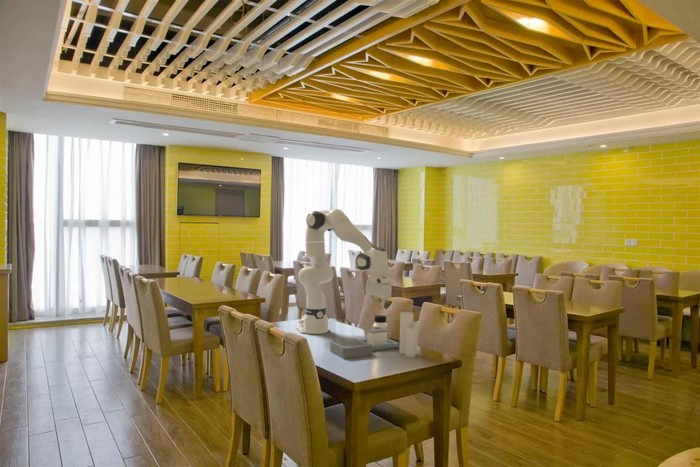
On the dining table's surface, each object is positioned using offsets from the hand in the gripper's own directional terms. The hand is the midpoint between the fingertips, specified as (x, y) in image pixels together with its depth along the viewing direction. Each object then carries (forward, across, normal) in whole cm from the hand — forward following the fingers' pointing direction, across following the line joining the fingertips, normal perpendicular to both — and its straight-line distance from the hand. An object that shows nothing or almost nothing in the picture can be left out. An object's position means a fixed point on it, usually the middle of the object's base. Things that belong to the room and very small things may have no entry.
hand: (377, 304), depth 257 cm
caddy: (+21, 0, 0) cm, 21 cm away
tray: (+22, 0, 0) cm, 22 cm away
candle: (+22, +19, +7) cm, 30 cm away
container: (+22, -15, +11) cm, 29 cm away
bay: (+22, +7, -19) cm, 30 cm away
